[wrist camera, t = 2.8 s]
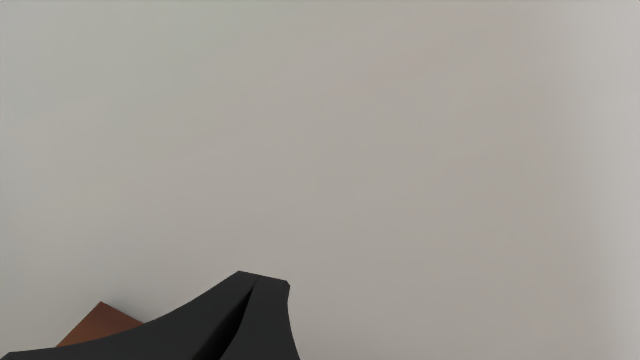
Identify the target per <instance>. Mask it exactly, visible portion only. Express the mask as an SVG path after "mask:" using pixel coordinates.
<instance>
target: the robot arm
mask: <svg viewBox="0 0 640 360" xmlns="http://www.w3.org/2000/svg"><path fill="white" fill-rule="evenodd" d="M289 290H290V285H289V284H288V282H287V281H285V280H281V279H276V278H271V277H267V276H262V275H257V274H252V273H248V272H243V271H237V272H236V273H234V274H233V275H231V276H229V277H228V278H226V279H225V280H223V281H222V282H220V283H219V284H217V285H216V286H214V287H213V288H211V289H210V290H208V291H207V292H205V293H203V294H202V295H200V296H199V297H197V298H195V299H194V300H192V301H190V302H188V303H187V304H185V305H183V306H181V307H179V308H177V309H175V310H174V311H172V312H170V313H168V314H166V315H164V316H162V317H159V318H157V319H155V320H152V321H150V322H147V323H145V324H142V325H140V326H137V327H135V328H132V329H129V330H126V331H122V332H119V333H116V334H112V335H109V336H106V337H102V338H99V339H95V340H90V341H86V342H82V343H77V344H71V345H66V346H60V347H54V348H46V349H37V350H28V351H19V352H9V353H8V354H6V355H5V356H4V357H3V358H2V359H0V360H300V358H299V355H298V352H297V349H296V346H295V343H294V339H293V336H292V332H291V327H290V321H289V315H288V305H287V302H288V296H289Z"/></svg>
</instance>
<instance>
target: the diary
mask: <svg viewBox="0 0 640 360" xmlns="http://www.w3.org/2000/svg"><path fill="white" fill-rule="evenodd" d="M142 324H143V323H141V322H139V321H137V320H135V319H133V318H131V317H129V316H128V315H126V314H124V313H122V312H120V311H118V310H116V309H114V308H112V307H111V306H109V305H107V304H105V303H103V302H101V301H100V302H99V303H98V305H97V306H96V307H95V308H94V309H93V310H92V311H91V312H90V313H89V314H88V315H87V316H86V317H85V318H84V319H83V320H82V321H81V322H80V323H79V324H78V325H77V326H76V327H75V328H74V329H73V330H72V331H71V332H70V333H69V334H68V335H67V336H66V337H65V338H64V339H63V340H62V341H61V342H60V343H59V344H58V345H57V346H56V347H60V346H66V345H71V344H77V343H82V342H86V341H90V340H95V339H99V338H102V337H106V336H109V335H112V334H116V333H119V332H122V331H126V330H129V329H132V328H135V327H137V326H140V325H142Z"/></svg>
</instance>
